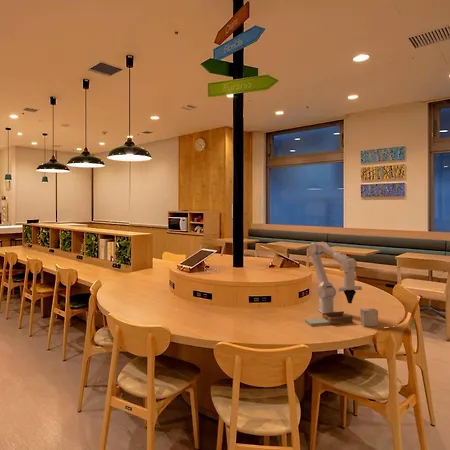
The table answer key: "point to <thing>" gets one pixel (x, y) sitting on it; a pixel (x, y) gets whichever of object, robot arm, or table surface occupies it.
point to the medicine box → (369, 317)
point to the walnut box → (337, 318)
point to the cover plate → (317, 321)
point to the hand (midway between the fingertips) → (349, 303)
